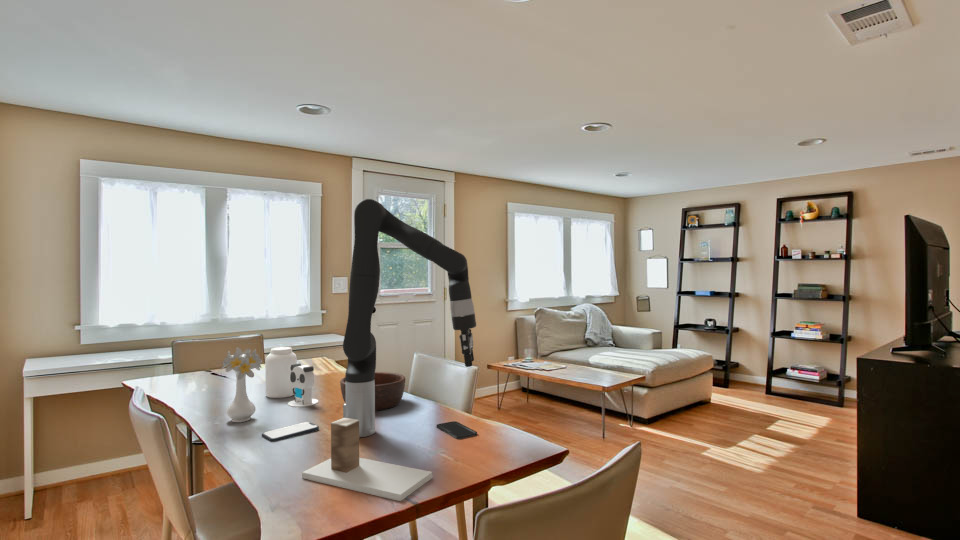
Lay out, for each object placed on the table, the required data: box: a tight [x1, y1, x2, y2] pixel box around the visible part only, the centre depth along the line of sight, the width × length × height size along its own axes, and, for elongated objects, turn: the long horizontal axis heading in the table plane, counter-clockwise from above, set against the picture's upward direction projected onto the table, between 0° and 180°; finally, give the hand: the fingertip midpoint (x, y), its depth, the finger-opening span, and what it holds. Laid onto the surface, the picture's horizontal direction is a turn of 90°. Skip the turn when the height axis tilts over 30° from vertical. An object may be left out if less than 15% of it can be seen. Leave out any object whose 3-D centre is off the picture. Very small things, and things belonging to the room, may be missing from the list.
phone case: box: [261, 421, 320, 443], centre depth 162 cm, size 9×2×16 cm
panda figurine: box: [287, 363, 319, 408], centre depth 199 cm, size 12×11×15 cm
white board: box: [301, 457, 433, 502], centre depth 127 cm, size 30×14×2 cm, turn 64°
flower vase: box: [220, 347, 264, 423], centre depth 176 cm, size 13×18×25 cm
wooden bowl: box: [339, 371, 406, 412], centre depth 196 cm, size 25×25×10 cm
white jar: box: [264, 346, 298, 399], centre depth 212 cm, size 12×12×20 cm
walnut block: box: [330, 417, 360, 473], centre depth 130 cm, size 5×5×12 cm
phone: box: [436, 420, 478, 440], centre depth 163 cm, size 8×1×15 cm
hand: (469, 363), depth 160 cm, fingers open, 8 cm apart
